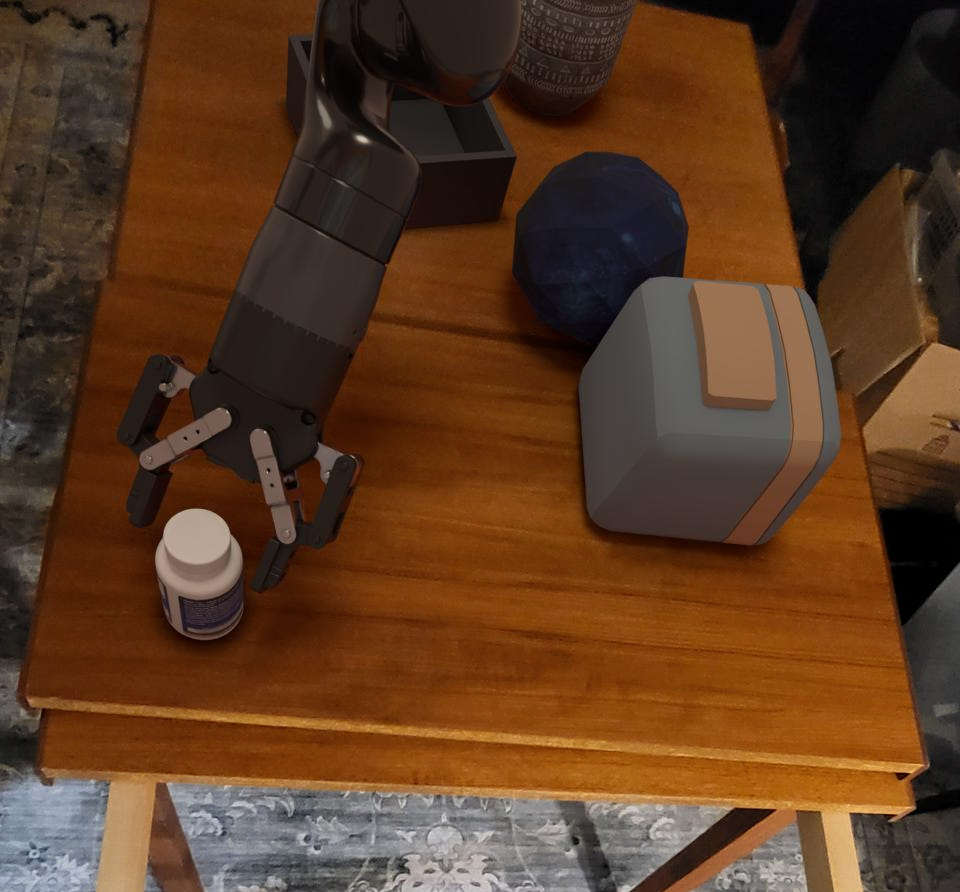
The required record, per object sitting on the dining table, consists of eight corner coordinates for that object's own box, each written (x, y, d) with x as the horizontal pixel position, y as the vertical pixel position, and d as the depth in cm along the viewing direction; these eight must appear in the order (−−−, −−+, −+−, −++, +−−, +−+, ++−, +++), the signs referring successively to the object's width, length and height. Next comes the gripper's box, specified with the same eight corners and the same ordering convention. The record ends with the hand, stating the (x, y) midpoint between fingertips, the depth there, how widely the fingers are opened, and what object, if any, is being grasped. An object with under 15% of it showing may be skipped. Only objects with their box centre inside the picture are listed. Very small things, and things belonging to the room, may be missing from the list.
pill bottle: (259, 601, 68) (261, 530, 59) (211, 656, 65) (205, 591, 56) (197, 559, 68) (189, 482, 59) (147, 612, 65) (131, 541, 57)
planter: (459, 71, 94) (488, -68, 83) (536, 30, 99) (573, -107, 88) (549, 147, 93) (591, 16, 81) (622, 101, 98) (672, -29, 86)
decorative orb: (731, 313, 82) (720, 119, 72) (614, 387, 76) (585, 185, 66) (609, 297, 91) (586, 124, 82) (496, 361, 85) (457, 182, 76)
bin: (335, 235, 82) (342, 168, 76) (285, 107, 87) (288, 34, 81) (498, 220, 87) (517, 156, 81) (443, 99, 92) (457, 30, 86)
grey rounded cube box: (769, 557, 79) (882, 443, 65) (582, 538, 76) (659, 413, 61) (744, 398, 85) (843, 262, 71) (571, 374, 82) (638, 226, 68)
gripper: (160, 245, 51) (67, 511, 56) (393, 371, 51) (278, 625, 57) (217, 261, 58) (130, 496, 64) (421, 372, 58) (317, 597, 64)
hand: (200, 557), depth 60 cm, fingers open, 8 cm apart
